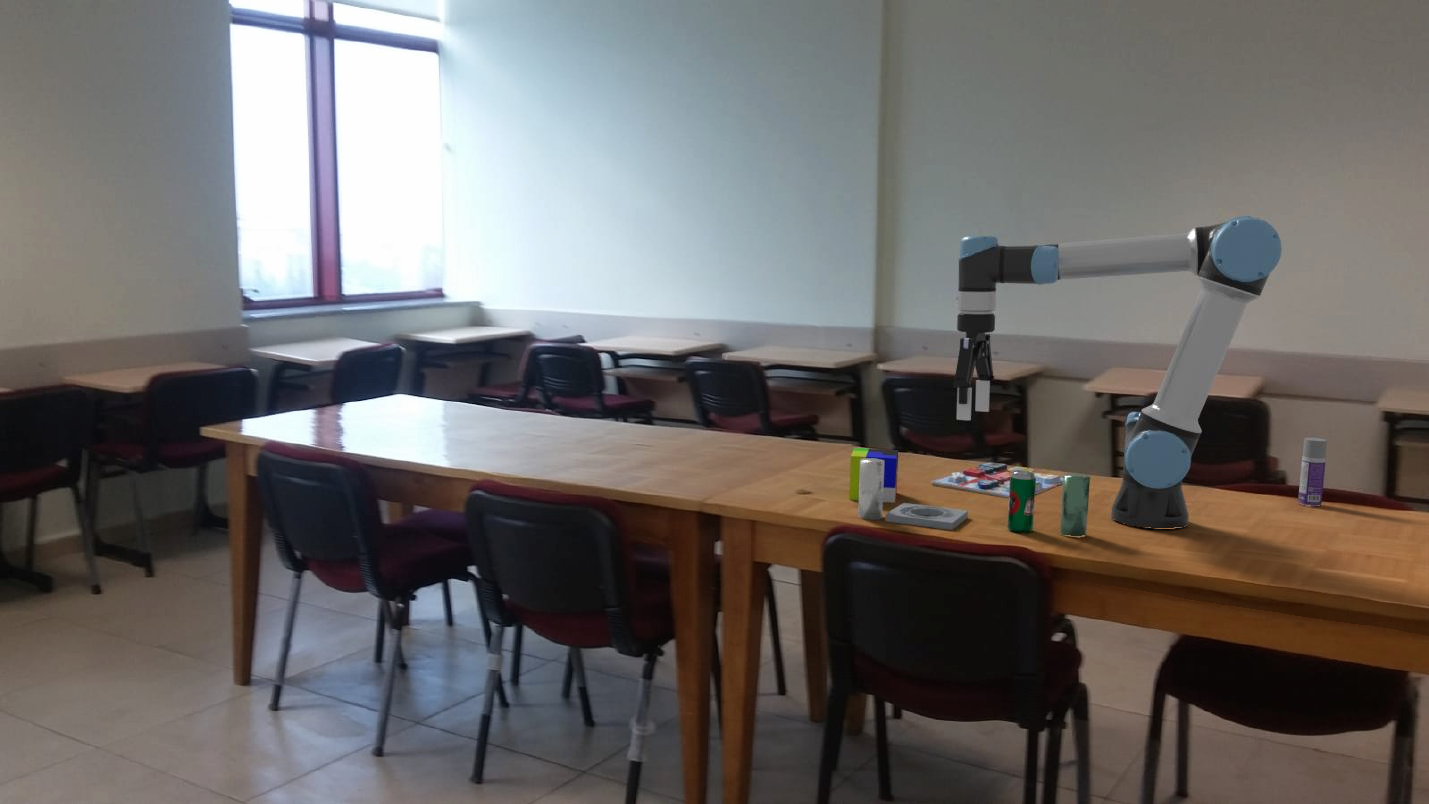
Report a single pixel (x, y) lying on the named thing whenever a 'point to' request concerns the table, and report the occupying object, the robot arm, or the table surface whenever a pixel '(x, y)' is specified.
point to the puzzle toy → (889, 471)
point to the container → (1312, 471)
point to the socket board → (911, 513)
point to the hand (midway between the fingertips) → (973, 415)
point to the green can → (1074, 504)
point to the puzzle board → (993, 480)
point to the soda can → (1021, 501)
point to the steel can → (871, 489)
